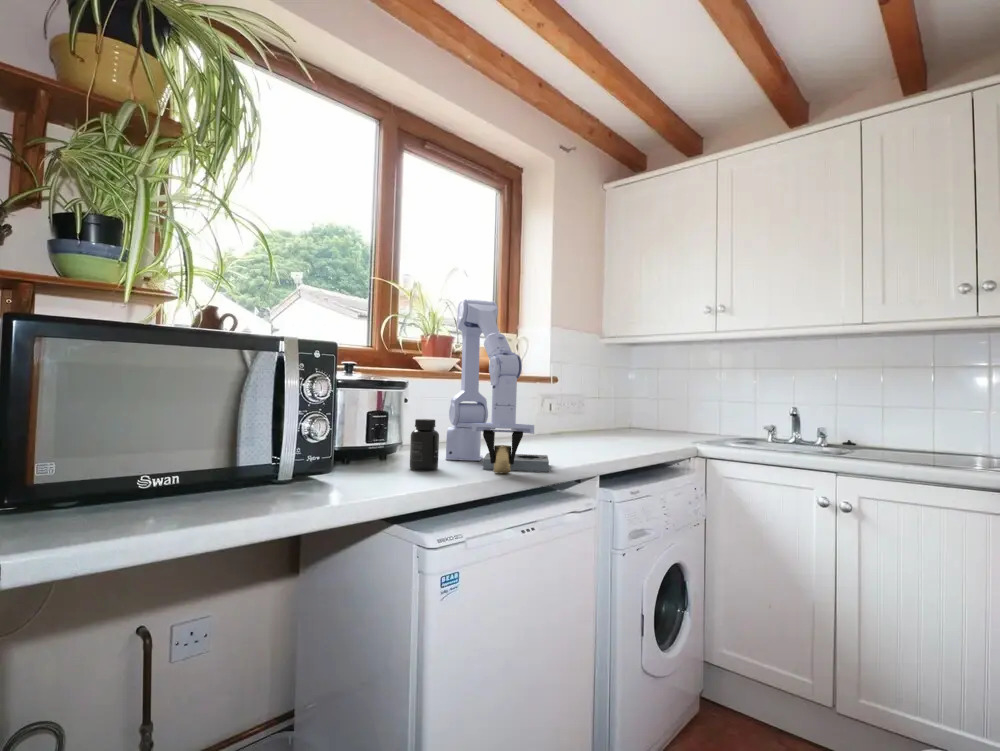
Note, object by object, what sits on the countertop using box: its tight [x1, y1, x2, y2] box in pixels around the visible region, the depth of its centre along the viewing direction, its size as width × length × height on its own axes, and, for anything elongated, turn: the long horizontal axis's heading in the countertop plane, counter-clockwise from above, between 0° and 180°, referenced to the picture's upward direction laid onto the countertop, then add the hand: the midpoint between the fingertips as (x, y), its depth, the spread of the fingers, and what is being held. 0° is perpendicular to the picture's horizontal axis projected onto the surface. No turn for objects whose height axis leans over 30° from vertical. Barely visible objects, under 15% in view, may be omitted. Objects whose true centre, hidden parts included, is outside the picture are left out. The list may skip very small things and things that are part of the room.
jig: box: [482, 452, 550, 473], centre depth 134 cm, size 16×12×2 cm
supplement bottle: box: [409, 418, 440, 472], centre depth 126 cm, size 7×7×12 cm
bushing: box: [493, 444, 512, 474], centre depth 123 cm, size 4×4×6 cm
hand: (502, 463), depth 123 cm, fingers closed on bushing, 4 cm apart
